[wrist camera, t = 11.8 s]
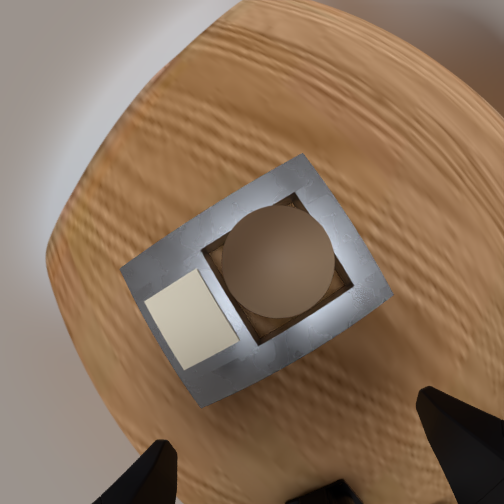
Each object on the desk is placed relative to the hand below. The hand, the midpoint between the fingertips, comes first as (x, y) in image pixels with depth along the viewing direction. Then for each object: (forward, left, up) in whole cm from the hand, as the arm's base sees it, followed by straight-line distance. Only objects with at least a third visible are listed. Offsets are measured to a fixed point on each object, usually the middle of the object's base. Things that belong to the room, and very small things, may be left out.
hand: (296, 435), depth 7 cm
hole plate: (+5, -1, -12) cm, 14 cm away
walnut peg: (+5, -3, -12) cm, 14 cm away
